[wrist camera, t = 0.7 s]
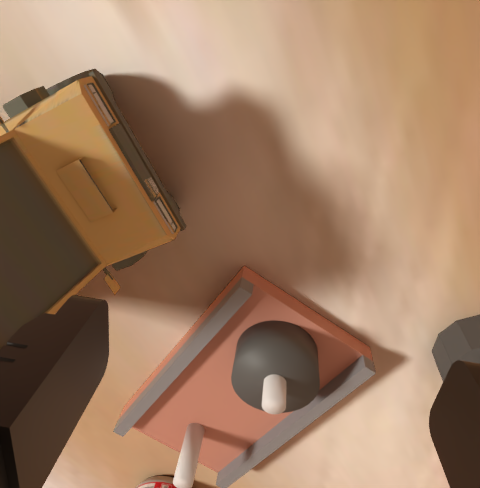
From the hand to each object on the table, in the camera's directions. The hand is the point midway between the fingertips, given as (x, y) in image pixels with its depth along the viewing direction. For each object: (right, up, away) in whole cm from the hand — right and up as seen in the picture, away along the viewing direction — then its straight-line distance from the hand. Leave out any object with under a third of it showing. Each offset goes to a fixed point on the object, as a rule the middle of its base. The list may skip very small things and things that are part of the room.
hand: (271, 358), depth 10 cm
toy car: (-13, +7, +19) cm, 24 cm away
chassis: (-1, -9, +26) cm, 27 cm away
